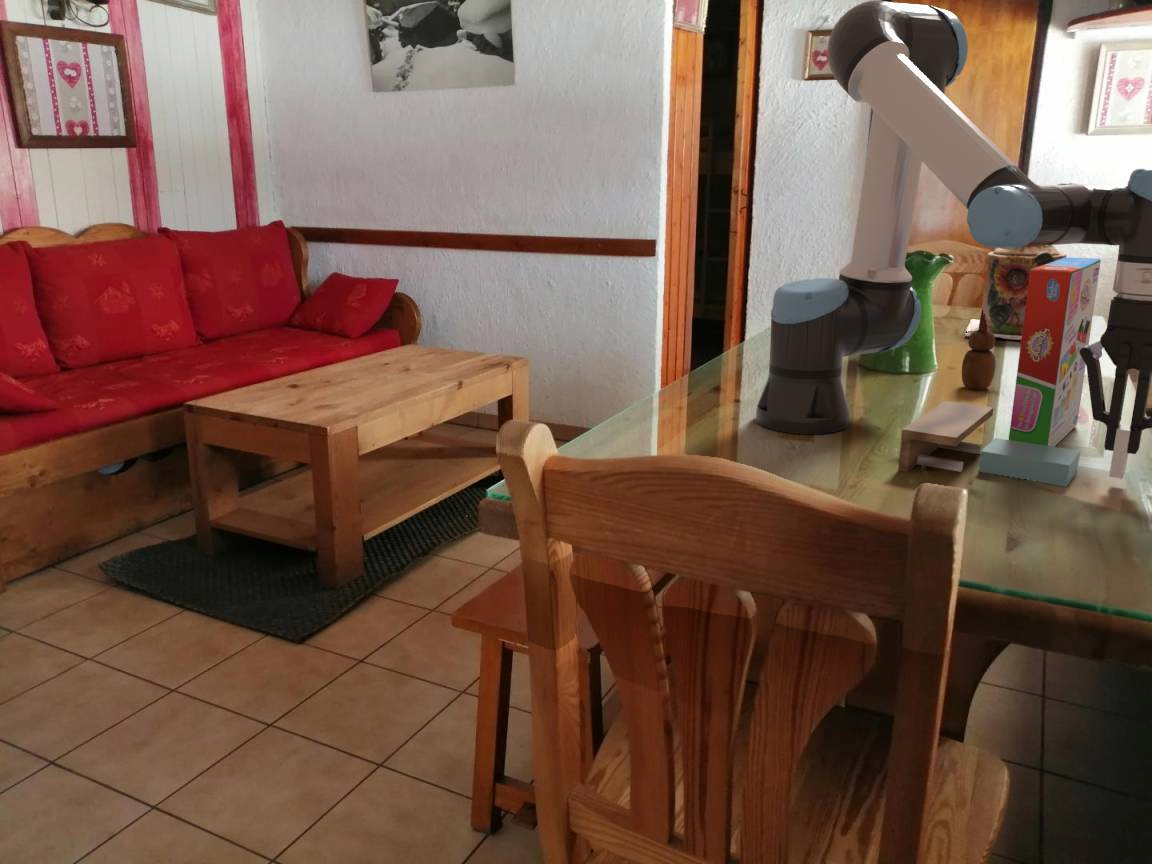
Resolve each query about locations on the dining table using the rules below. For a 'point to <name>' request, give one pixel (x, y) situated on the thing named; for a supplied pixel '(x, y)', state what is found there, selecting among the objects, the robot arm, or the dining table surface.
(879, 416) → the dining table surface
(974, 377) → the wooden figurine
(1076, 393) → the game box
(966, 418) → the overhang
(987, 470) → the slate blue rectangular box
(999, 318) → the cookie jar
